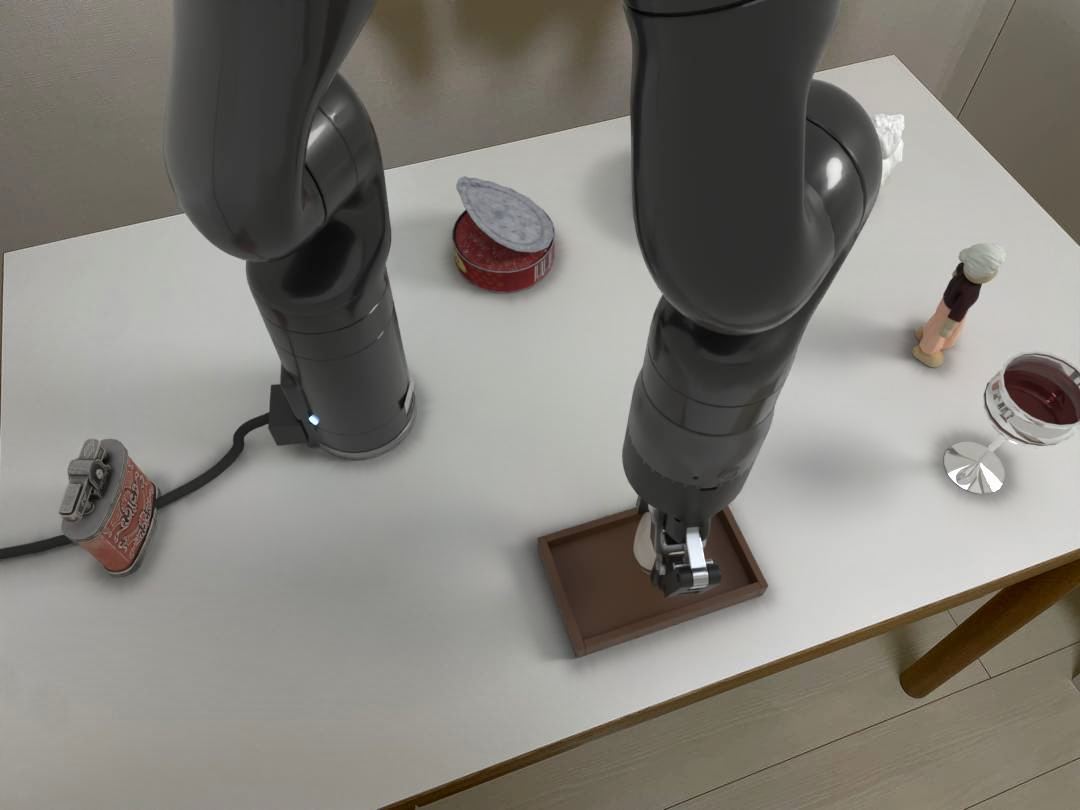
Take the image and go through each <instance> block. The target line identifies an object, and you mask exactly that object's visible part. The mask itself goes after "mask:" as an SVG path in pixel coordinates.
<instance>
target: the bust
mask: <svg viewBox="0 0 1080 810" xmlns="http://www.w3.org/2000/svg"><path fill="white" fill-rule="evenodd" d="M870 119H871V121H872V123H873V125H874V127H875V129H876V132H877V134H878V137H879V141H880V145H881V151H882V161H883V167H882V179H881V185H880V189H881V188H882V187H883V186H884V184H885V182H886V181H887V180H888V178H889V177H890V174H891V172H892V171H893V170H894V169H895V167H896V166H898V165H899V164H901V162H902V161H903V160H904V159H903V152H904V145H905V143H904V140H903V139H902V135H903V132H904V129H905V126H906V124H905V116H904V114H901V113H896V114H891V115H889V114H885V113H882V112H880V113H878V112H877V113H876V114H874V115H872V116H870Z"/></svg>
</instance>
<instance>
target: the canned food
mask: <svg viewBox="0 0 1080 810" xmlns="http://www.w3.org/2000/svg"><path fill="white" fill-rule="evenodd" d="M457 179H458V180H457V182H456V185H455V187H456V190H457V193H458V195H459V196H460V199H461V203H462V205H463V207H464V208H465V209H464V210H463V211H462V212H461V213H460V214H459V216H458V218H456V219H455V222H454V225H453V228H452V234H451V236H452V237H451V238H452V245H453V254H454V258H453V259H454V263H455V266H456V268H457V270H458V273H460V275H461V276H462V277H463V278H464V279H465V280H466V281H467V282H468V283H469V284H471V285H472V286H474V287H477V288H478V289H481V290H483V291H487V292H492V293H498V294H510V293H517V292H520V291H524V290H527V289H528V290H529V288H531V287H534V286H535V285H537V284H539V283H540V282H541V281H543V280H544V279H545V277H546V276H547V275H548V274H549V273H550V271H551V269H552V267H553V265H554V261H555V244H556V243H555V241H556V228H555V224H554V222H553V221H552V219H551V218H550V215H548V213H546V211H545V210H544V209H543V208H542V207H541V206H539V205H538V204H537V203H536V202H535V201H533V199H531V197H528V196H526V195H524V194H522V193H520V192H518V191H516V190H515V189H514V188H511V187H509V186H505V185H501V184H499V183H497V182H494V181H490V180H484V179H480V178H478V177H468V176H462V177H459V178H457Z"/></svg>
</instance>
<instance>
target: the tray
mask: <svg viewBox="0 0 1080 810" xmlns="http://www.w3.org/2000/svg"><path fill="white" fill-rule="evenodd" d="M642 517H643V515H639V514H638V512H637V507H636V506H635V507H632V508H629V509H625V510H623V511H620V512H616V513H613V514H610V515H606V516H602V517H600V518H597V519H594V520H590V521H587V522H583V523H581V524H578V525H574V526H571V527H567V528H564V529H561V530H557V531H555V532H552V533H551V532H550V533H549V534H545V535H541V536H539V537H537V539H536V543H537V544H536V549H537V551H538V555H539V557H540V561H541V562H542V565H543V568H544V571H545V574H546V577H547V579H548V582H549V585H550V588H551V590H552V594H553V596H554V599H555V602H556V604H557V608H558V610H559V614H560V616H561V619H562V621H563V624H564V627H565V630H566V632H567V635H568V638H569V640H570V643H571V646H572V649H573V652H574V655H575V657H576V659H579V658H582V657H586V656H588V655H591V654H594V653H597V652H600V651H603V650H605V649H608V648H612V647H614V646H618V645H620V644H623V643H626V642H629V641H632V640H635V639H638V638H641V637H644V636H647V635H649V634H652V633H656V632H659V631H663V630H664V629H667V628H670V627H673V626H676V625H679V624H682V623H685V622H689V621H691V620H694V619H697V618H699V617H703V616H706V615H708V614H712V613H715V612H717V611H721V610H723V609H726V608H730V607H732V606H736V605H738V604H741V603H745V602H747V601H750V600H753V599H756V598H758V597H762V596H764V593H765V592H766V590H767V589H768V588H769V584H768V582H767V580H766V578H765V576H764V574H763V572H762V570H761V568H760V566H759V564H758V562H757V559H756V558H755V556H754V555H753V551H752V550H751V549H750V546H749V544H748V542H747V540H746V538H745V536H744V535H743V532H742V531H741V529H740V526H739V524H738V523H737V520H736V519H735V517H734V514H733V512H732V511H731V509H730V506H729V505H728V506H726V507H725V508H724V509H722V510H721V511H719V512H718V513H717V514H715V515H714V516H713V517H711V521H710V532H709V535H708V537H707V541H706V546H705V547H704V548H703V552H704V557H705V559H712V561H713V564H718V566H719V568H720V570H721V573H722V578H721V583H720V584H719V585H717V586H715V587H713V588H712V589H710V590H708V591H706V592H704V593H702V594H687V595H678V596H673V597H667V598H665V596H664V593H663V592H662V591H660V590H659V587H654V586H652V583H651V578H650V574H647V573H646V572H644V571H643V570H642V569H641V568H640V567H639V565H638V564H637V562H636V560H635V557H634V553H633V548H634V540H635V536H636V532H637V529H638V526H639V523H640V521H641V519H642Z"/></svg>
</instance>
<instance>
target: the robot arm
mask: <svg viewBox="0 0 1080 810" xmlns="http://www.w3.org/2000/svg"><path fill="white" fill-rule="evenodd" d="M378 2H379V0H171V20H172V21H171V27H172V29H171V30H172V31H171V52H170V53H171V54H170V63H169V65H170V67H169V75H168V76H169V78H168V86H167V93H166V94H167V96H166V104H165V113H164V124H163V125H164V126H163V133H162V134H163V135H162V136H163V137H162V138H163V139H162V140H163V141H162V143H163V144H162V145H163V146H162V152H163V162H164V166H165V171H166V173H167V178H168V182H169V185H170V186H171V189H172V192H173V194H174V196H175V199H176V201H177V203H178V204H179V206H180V207H181V209H182V211H183V213H184V214H185V216H186V217H187V219H188V221H190V223H191V224H192V225H193V227H195V229H196V230H197V231H198V232H199V233H200V234H201V235H202V236H203V238H204V239H206V240H207V241H208V242H209V243H210V244H212V245H213V246H214V247H215V248H217V249H218V250H220V251H222V252H223V253H225V254H227V255H229V256H232V257H234V258H236V259H239V260H242V261H245V278H246V281H247V285H248V288H249V290H250V293H251V296H252V298H253V300H254V302H255V305H256V307H257V309H258V311H259V314H260V316H261V318H262V321H263V323H264V326H265V328H266V330H267V332H268V335H269V337H270V340H271V342H272V344H273V346H274V349H275V351H276V353H277V356H278V358H279V361H280V375H279V383H275V384H271V385H270V391H269V393H270V395H269V408H268V409H269V411H268V412H266V413H264V414H261V415H258V416H256V417H253V418H250V419H249V420H247V421H245V422H243V423H242V424H241V425H240V426H239V427H238V428H237V429H235V432H233V436H232V446H231V447H230V449H229V450H228V451H227V453H226V454H225V455H224V456H223V457H222V458H221V459H220V460H219V461H218V462H216V463H215V464H214V465H213V466H212V467H211V468H209V469H208V470H206V471H205V472H203V473H201V474H200V475H199V476H197V477H195V478H193V479H191V480H190V481H188V482H187V483H184V484H182V485H180V486H179V487H177V488H175V489H173V490H171V491H169V492H167V493H164V494H163V495H161V497H159V498H157V499H155V500H153V509H154V508H155V507H156V509H157V510H159V509H160V510H161V509H162V508H164V507H167V506H169V505H171V504H172V503H174V502H176V501H179V500H180V499H183V498H185V497H187V496H188V495H190V494H192V493H193V492H196V491H197V490H199V489H201V488H203V487H204V486H206V485H207V484H209V483H210V482H212V481H213V480H215V479H216V478H218V477H219V476H220V475H221V474H222V473H223V472H225V471H226V470H227V469H228V468H229V467H230V466H231V465H232V464H233V463H234V462H236V460H237V459H238V457H239V456H240V455H241V453H242V452H243V450H244V448H245V437H246V436H247V435H249V433H251V432H253V431H254V430H257V429H259V428H261V427H265V426H267V427H268V430H269V433H270V434H271V437H272V439H273V441H274V442H275V445H276V446H277V447H279V446H281V447H282V446H290V445H291V446H292V445H301V444H302V445H303V444H306V446H307V448H311V449H312V448H320V449H322V450H323V451H324V452H326V453H328V454H330V455H332V456H335V457H337V458H341V459H347V460H367V459H370V458H371V459H372V458H374V457H378V456H380V455H383V454H385V453H387V452H389V451H391V450H392V449H394V448H395V447H397V446H398V445H399V444H400V443H402V441H403V440H404V439H405V438H407V436H408V434H409V433H410V431H411V430H412V429H413V426H414V424H415V421H416V416H417V400H416V395H415V392H414V389H415V381H414V376H413V375H411V377H410V373H409V368H408V362H407V358H406V353H405V349H404V344H403V343H404V342H403V338H402V335H401V328H400V325H399V320H398V315H397V311H396V306H395V300H394V296H393V292H392V287H391V282H390V277H389V272H388V267H387V261H388V258H389V256H390V255H389V254H390V251H391V247H392V224H391V216H390V207H389V200H388V191H387V184H386V177H385V176H386V175H385V168H384V162H383V161H384V160H383V155H382V151H381V147H380V143H379V138H378V136H377V132H376V129H375V126H374V124H373V121H372V119H371V115H370V113H369V111H368V110H367V108H366V106H365V103H363V101H362V99H361V98H360V96H359V94H358V93H357V91H356V90H355V88H354V87H353V86H352V84H351V83H350V82H349V80H347V78H346V77H345V76H344V74H342V73H341V72H340V71H339V70H340V68H341V67H342V65H343V63H344V61H345V60H346V58H347V57H348V54H349V53H350V51H351V50H352V49H353V46H354V45H355V43H356V41H357V39H358V38H359V36H360V34H361V33H362V31H363V29H364V27H365V26H366V24H367V22H368V20H369V18H370V17H371V15H372V13H373V11H374V10H375V8H376V5H378ZM621 6H622V9H623V13H624V16H625V17H624V18H625V20H626V23H627V27H628V30H629V33H630V40H631V50H632V51H631V76H630V77H631V78H630V95H629V116H630V117H629V119H630V121H629V122H630V182H631V183H630V184H631V185H630V186H631V205H632V217H633V223H634V229H635V235H636V240H637V243H638V247H639V250H640V253H641V256H642V259H643V261H644V264H645V266H646V269H647V271H648V273H649V274H650V277H651V278H652V280H653V282H654V283H655V285H656V287H657V289H658V291H660V293H661V296H660V298H659V300H658V303H657V304H656V307H655V309H654V313H653V314H652V318H651V320H650V325H649V331H648V334H647V335H648V336H647V341H646V346H645V352H644V356H643V362H642V365H641V369H640V370H639V372H638V374H637V377H636V380H635V383H634V386H633V390H632V395H631V400H630V407H629V411H628V416H627V421H626V422H627V423H626V427H625V434H624V439H623V444H622V451H621V463H622V466H623V472H624V474H625V477H626V480H627V482H628V483H629V485H630V487H631V488H632V490H633V491H634V493H636V494H637V499H636V503H635V507H637V512H638V514H639V515H644V513H646V512H650V515H651V529H650V539H651V542H652V545H653V549H654V552H655V553H656V559H655V562H654V565H653V568H652V571H651V575H650V578H651V583H652V586H654V587H659V590H660V591H662V592H663V593H664V596H665V598H667V597H673V596H678V595H687V594H702V593H704V592H706V591H708V590H710V589H712V588H713V587H715V586H717V585H719V584H720V583H721V578H722V573H721V570H720V568H719V566H718V564H713V561H712V559H705V557H704V552H703V548H704V547H705V546H706V541H707V537H708V535H709V532H710V521H711V517H713V516H714V515H715V514H717V513H718V512H719V511H721V510H722V509H724V508H725V507H726V506H729V505H730V504H731V503H733V502H734V501H735V499H736V498H737V497H739V495H740V493H741V492H742V490H743V488H744V486H745V484H746V482H747V480H748V477H749V475H750V473H751V471H752V469H753V466H754V464H755V462H756V460H757V458H758V456H759V454H760V451H761V449H762V446H763V445H764V442H765V440H766V438H767V436H768V434H769V431H770V429H771V426H772V422H773V419H774V416H775V415H774V414H775V408H776V404H777V400H778V399H779V397H780V394H781V392H782V390H783V387H784V386H785V383H786V381H787V378H788V377H789V374H790V372H791V370H792V367H793V364H794V362H795V358H796V355H797V352H798V349H799V346H800V344H801V341H802V339H803V336H804V334H805V332H806V330H807V327H808V325H809V323H810V321H811V319H812V317H813V316H814V313H815V312H816V310H817V309H818V307H819V305H820V304H821V302H822V300H823V298H824V297H825V295H826V293H827V292H828V290H829V288H830V287H831V285H832V283H833V282H834V280H835V279H836V277H837V275H838V273H839V272H840V270H841V268H842V266H843V264H844V263H845V261H846V260H847V257H848V256H849V254H850V252H851V250H852V249H853V247H854V245H855V243H856V242H857V240H858V238H859V236H860V234H861V233H862V230H863V228H864V227H865V225H866V223H867V222H868V219H869V218H870V215H871V213H872V212H873V209H874V206H875V204H876V202H877V199H878V196H879V193H880V189H881V188H880V185H881V179H882V167H883V161H882V151H881V145H880V141H879V137H878V134H877V132H876V129H875V127H874V125H873V123H872V121H871V119H870V118H871V116H870V115H869V114H868V112H867V111H866V110H865V108H864V107H863V106H862V105H861V104H860V102H859V101H858V100H856V98H855V97H854V96H852V95H851V94H850V93H849V92H847V91H846V90H844V89H842V88H840V87H839V86H838V85H835V84H833V83H831V82H828V81H824V80H821V79H817V78H814V75H815V72H816V69H817V67H818V65H819V62H820V60H821V58H822V57H823V54H824V52H825V51H826V49H827V46H828V44H829V42H830V40H831V39H832V36H833V34H834V32H835V29H836V27H837V24H838V21H839V19H840V15H841V11H842V6H843V0H621ZM663 529H664V531H665V532H663ZM75 543H76V542H73V541H72V540H70V539H69V538H67V537H66V536H65V535H64V533H63V534H60V535H57V536H52V537H49V538H46V539H41V540H37V541H33V542H28V543H24V544H19V545H14V546H8V547H2V548H0V561H1V560H8V559H14V558H19V557H23V556H29V555H34V554H37V553H42V552H46V551H50V550H54V549H58V548H61V547H65V546H68V545H71V544H75ZM683 551H684V553H680V554H670V553H674V552H683ZM669 554H670V555H669Z"/></svg>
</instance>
